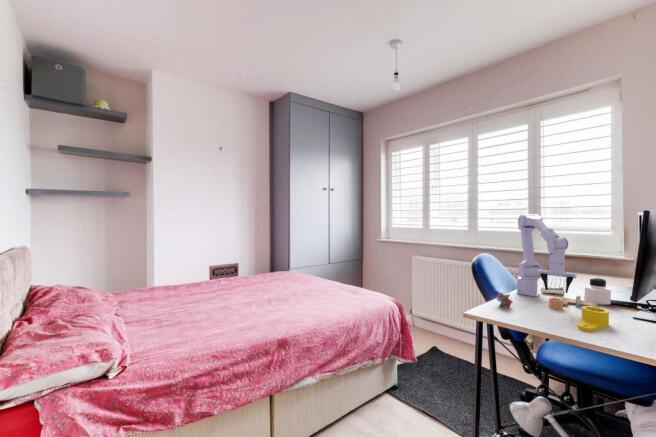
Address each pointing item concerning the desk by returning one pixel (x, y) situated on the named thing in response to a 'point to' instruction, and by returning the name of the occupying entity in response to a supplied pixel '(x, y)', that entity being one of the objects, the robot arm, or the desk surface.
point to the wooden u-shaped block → (582, 303)
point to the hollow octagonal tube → (556, 303)
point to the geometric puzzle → (504, 300)
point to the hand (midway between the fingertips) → (556, 290)
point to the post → (578, 301)
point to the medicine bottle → (598, 292)
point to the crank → (593, 319)
